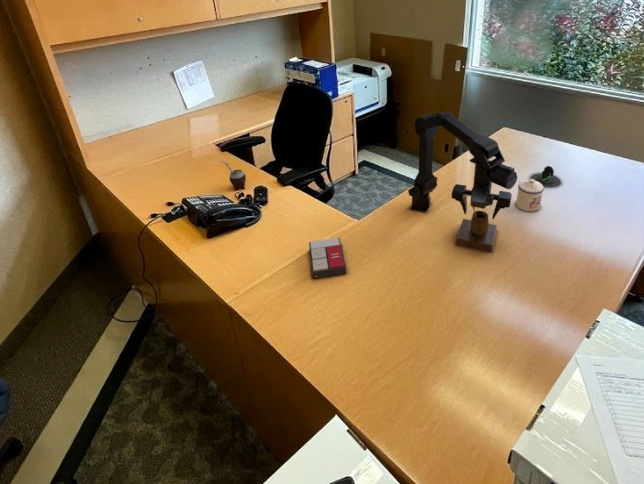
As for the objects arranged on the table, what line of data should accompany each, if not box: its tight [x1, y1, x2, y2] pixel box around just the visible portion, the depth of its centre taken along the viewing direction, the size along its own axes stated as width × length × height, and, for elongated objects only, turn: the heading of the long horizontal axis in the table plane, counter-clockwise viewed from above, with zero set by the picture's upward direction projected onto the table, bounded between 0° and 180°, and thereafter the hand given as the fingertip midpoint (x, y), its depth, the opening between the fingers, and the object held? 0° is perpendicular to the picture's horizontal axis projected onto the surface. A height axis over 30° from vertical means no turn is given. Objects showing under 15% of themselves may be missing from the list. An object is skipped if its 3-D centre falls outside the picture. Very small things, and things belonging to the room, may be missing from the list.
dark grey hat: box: [529, 165, 562, 188], centre depth 175 cm, size 12×12×12 cm
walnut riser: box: [455, 218, 498, 253], centre depth 146 cm, size 12×12×3 cm
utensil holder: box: [470, 206, 491, 235], centre depth 143 cm, size 6×6×12 cm
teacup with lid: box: [515, 178, 545, 212], centre depth 160 cm, size 12×9×12 cm
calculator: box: [308, 237, 347, 280], centre depth 140 cm, size 11×4×15 cm
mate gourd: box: [219, 160, 247, 191], centre depth 185 cm, size 8×8×15 cm
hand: (479, 216), depth 142 cm, fingers open, 9 cm apart
